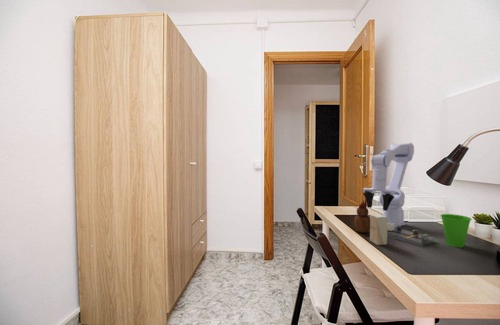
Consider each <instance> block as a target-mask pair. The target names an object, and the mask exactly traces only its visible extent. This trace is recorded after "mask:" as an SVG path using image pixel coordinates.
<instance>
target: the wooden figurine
mask: <svg viewBox="0 0 500 325" xmlns="http://www.w3.org/2000/svg"><path fill="white" fill-rule="evenodd" d="M358 205H359V206H358V207H357V208H356V214H357V215H355V217H354V221H353V222H354V226H355V230H356V231H357V232H359V233H363V234H366V233H369V232H370V215H369V209H368V207H367V201H366V198H365V201H364V200H362V202H361V203H360V204H358ZM368 215H369V216H368Z"/></svg>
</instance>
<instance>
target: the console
mask: <svg viewBox="0 0 500 325" xmlns="http://www.w3.org/2000/svg"><path fill="white" fill-rule="evenodd" d="M387 238H391V239H395V240H397V241H398V240H399V241H402V242H405V243H408V244H411V245H414V246H418V247H424V246H427V245H430V244H432V243H435V241H436V239H435V237H431V236H429V234H428V233H424V234H420V233H419V230H418V229H412V231H409V230H404V229H402V225H401V226H398V225H397V226H396V227H395V230H392V231H389V230H387Z"/></svg>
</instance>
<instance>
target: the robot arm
mask: <svg viewBox="0 0 500 325" xmlns="http://www.w3.org/2000/svg"><path fill="white" fill-rule="evenodd" d="M414 154H415V147H414V144H413V143H412V142H409V143H392V144H390V147H389V148H385V149H384V150H383V151H381V152H380V153H379V154H374V155H373V156H372V157H371V161H370V162H371V168H372V169H371V170H372V179H371V180H372V182H371V188H369V187H363V188H362V192H363V196H364V198H365V199H366V207H367V209H368V208H369V209H371V208H373V200H374V196H375V194H380V195H379V203H380V205H381V207H382V211H383V212H382V215H384V216H386V217H388V223H393V224H395V228H396V226H397V225H398V226H401V227H402V226H405V225H406V223H405V221H404V220H405V219H404V217H405V216H404V215H405V214H404V213H405V212H404V209H403V207H404V206H405V205H404V204H405V199H406V198H405V193H404V192H403V191H402V190H401V188H402V184H403V180H404V176H405V174H406V169H407V167H408V163H409V162H411V161H412V160H413V157H414ZM392 161H393V162H395V167H394V170H393V173H392V177H391V180H390V183H389V185H388V187H387V175H388V167H390V165H391V162H392Z"/></svg>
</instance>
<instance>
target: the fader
mask: <svg viewBox="0 0 500 325" xmlns="http://www.w3.org/2000/svg"><path fill="white" fill-rule="evenodd" d="M395 228H396V227H395V224H393V223H387V230H389V231H392V230H395Z"/></svg>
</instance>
